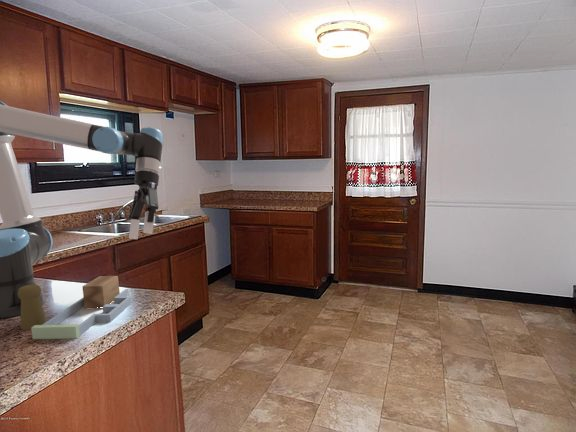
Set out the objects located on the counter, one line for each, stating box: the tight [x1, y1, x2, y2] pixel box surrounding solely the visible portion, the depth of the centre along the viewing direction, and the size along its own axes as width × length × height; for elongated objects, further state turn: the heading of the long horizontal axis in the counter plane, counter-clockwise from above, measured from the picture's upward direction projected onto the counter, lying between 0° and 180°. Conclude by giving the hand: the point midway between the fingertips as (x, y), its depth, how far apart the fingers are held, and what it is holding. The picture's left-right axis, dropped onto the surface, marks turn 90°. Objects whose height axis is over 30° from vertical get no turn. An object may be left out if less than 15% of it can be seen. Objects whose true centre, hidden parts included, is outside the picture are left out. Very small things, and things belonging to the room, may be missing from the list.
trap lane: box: [30, 288, 133, 340], centre depth 110 cm, size 15×30×3 cm, turn 179°
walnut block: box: [82, 275, 121, 309], centre depth 119 cm, size 6×10×7 cm, turn 179°
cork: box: [18, 284, 48, 331], centre depth 103 cm, size 6×6×11 cm
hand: (140, 236), depth 123 cm, fingers open, 13 cm apart
